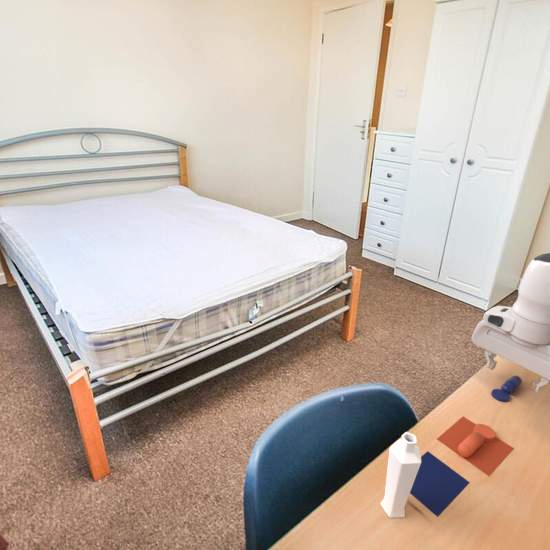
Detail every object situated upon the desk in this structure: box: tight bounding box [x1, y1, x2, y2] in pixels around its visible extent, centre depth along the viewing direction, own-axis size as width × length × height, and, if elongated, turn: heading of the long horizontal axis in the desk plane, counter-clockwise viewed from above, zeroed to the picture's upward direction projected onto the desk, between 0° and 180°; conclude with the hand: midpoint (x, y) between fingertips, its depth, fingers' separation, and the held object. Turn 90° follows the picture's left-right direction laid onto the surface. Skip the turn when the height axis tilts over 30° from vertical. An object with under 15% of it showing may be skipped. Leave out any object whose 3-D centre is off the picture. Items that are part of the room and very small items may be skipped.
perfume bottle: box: [380, 431, 422, 519], centre depth 58 cm, size 5×4×15 cm
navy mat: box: [409, 450, 470, 518], centre depth 65 cm, size 10×8×1 cm
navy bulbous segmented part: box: [490, 375, 523, 403], centre depth 86 cm, size 11×4×2 cm, turn 128°
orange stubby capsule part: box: [458, 423, 496, 457], centre depth 72 cm, size 11×4×2 cm, turn 128°
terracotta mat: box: [436, 415, 515, 477], centre depth 72 cm, size 10×10×1 cm
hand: (511, 378), depth 86 cm, fingers open, 8 cm apart
